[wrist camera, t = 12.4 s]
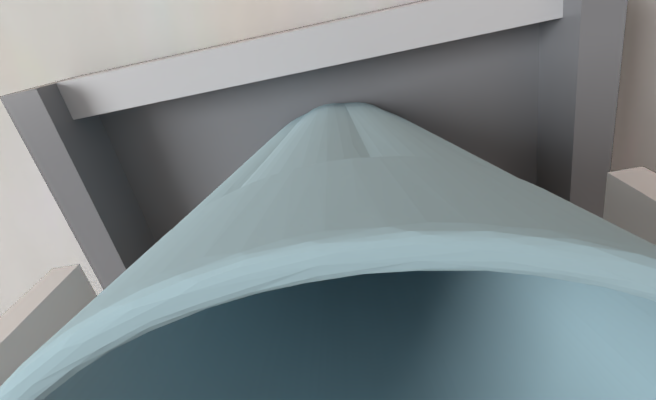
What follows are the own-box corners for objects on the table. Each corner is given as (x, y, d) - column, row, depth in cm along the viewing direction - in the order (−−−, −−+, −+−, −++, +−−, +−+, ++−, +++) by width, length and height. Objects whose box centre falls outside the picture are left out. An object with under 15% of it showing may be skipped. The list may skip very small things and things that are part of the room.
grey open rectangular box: (543, 430, 20) (642, 630, 13) (247, 465, 21) (211, 661, 15) (560, -31, 11) (847, -79, 5) (69, 78, 13) (-187, 146, 6)
